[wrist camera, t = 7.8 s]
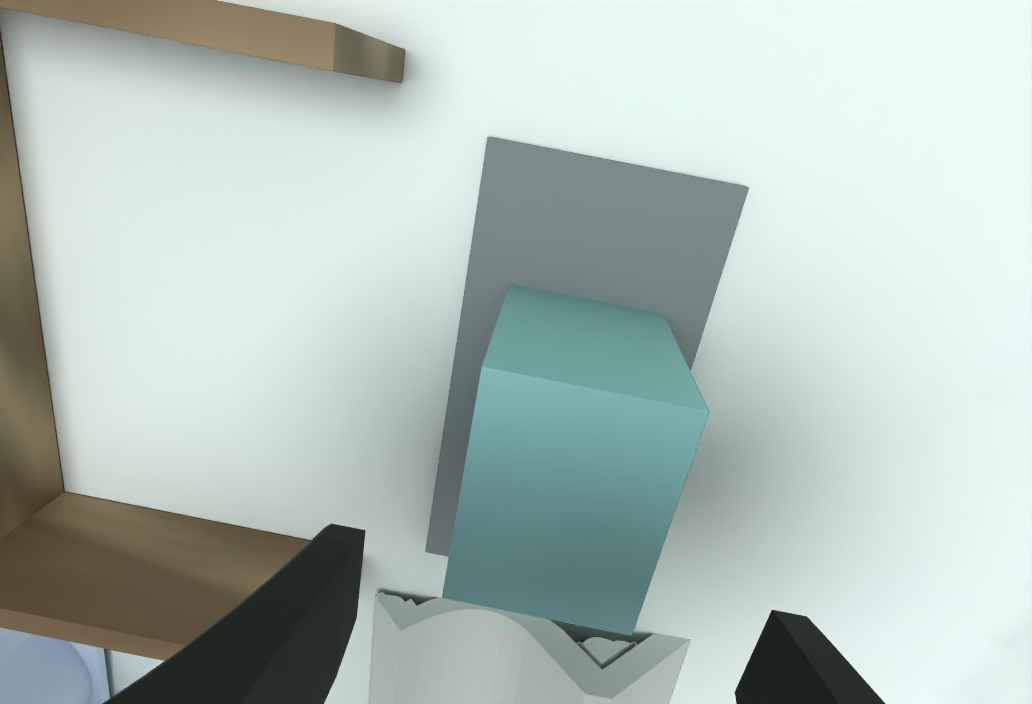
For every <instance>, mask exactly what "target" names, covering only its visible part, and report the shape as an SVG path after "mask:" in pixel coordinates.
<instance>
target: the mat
mask: <svg viewBox="0 0 1032 704" xmlns="http://www.w3.org/2000/svg"><path fill="white" fill-rule="evenodd" d="M748 190H749V188H748V187H746V186H742V185H737V184H732V183H726V182H721V181H716V180H711V179H706V178H700V177H695V176H690V175H685V174H680V173H675V172H669V171H664V170H659V169H654V168H649V167H644V166H638V165H633V164H628V163H623V162H618V161H613V160H607V159H602V158H597V157H592V156H587V155H581V154H576V153H571V152H566V151H561V150H556V149H550V148H545V147H540V146H535V145H530V144H525V143H519V142H514V141H509V140H504V139H499V138H493V137H487V144H486V150H485V157H484V164H483V170H482V177H481V184H480V190H479V197H478V204H477V210H476V217H475V224H474V230H473V237H472V244H471V250H470V257H469V264H468V270H467V277H466V284H465V290H464V297H463V304H462V311H461V317H460V324H459V331H458V337H457V344H456V351H455V357H454V364H453V371H452V377H451V384H450V391H449V397H448V404H447V411H446V417H445V424H444V431H443V437H442V444H441V451H440V457H439V464H438V471H437V477H436V484H435V491H434V497H433V504H432V511H431V517H430V524H429V531H428V537H427V544H426V551H425V552H429V553H434V554H439V555H444V556H449V554H450V548H451V542H452V536H453V531H454V525H455V519H456V513H457V507H458V502H459V496H460V490H461V484H462V478H463V473H464V467H465V461H466V455H467V449H468V444H469V438H470V432H471V426H472V420H473V415H474V409H475V403H476V397H477V391H478V386H479V380H480V374H481V368H482V364H483V362H484V359H485V356H486V353H487V350H488V347H489V344H490V341H491V338H492V335H493V332H494V329H495V326H496V323H497V320H498V317H499V314H500V311H501V308H502V305H503V302H504V299H505V296H506V293H507V290H508V287H509V284H512V285H517V286H522V287H527V288H532V289H537V290H542V291H547V292H552V293H557V294H563V295H568V296H573V297H578V298H583V299H588V300H593V301H598V302H603V303H608V304H613V305H618V306H623V307H629V308H634V309H639V310H644V311H649V312H654V313H659V314H663V315H664V317H665V319H666V321H667V323H668V325H669V327H670V330H671V332H672V334H673V336H674V338H675V340H676V342H677V344H678V347H679V349H680V351H681V353H682V355H683V357H684V359H685V361H686V363H687V366H688V368H689V370H690V371H691V368H692V365H693V362H694V358H695V355H696V352H697V349H698V346H699V343H700V340H701V337H702V333H703V330H704V327H705V324H706V321H707V318H708V315H709V312H710V308H711V305H712V302H713V299H714V296H715V293H716V290H717V287H718V283H719V280H720V277H721V274H722V271H723V268H724V265H725V262H726V258H727V255H728V252H729V249H730V246H731V243H732V240H733V237H734V233H735V230H736V227H737V224H738V221H739V218H740V215H741V212H742V208H743V205H744V202H745V199H746V196H747V193H748Z"/></svg>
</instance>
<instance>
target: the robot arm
mask: <svg viewBox="0 0 1032 704" xmlns="http://www.w3.org/2000/svg"><path fill="white" fill-rule="evenodd" d="M364 539H365V530H361V529H356V528H351V527H346V526H340V525H335V524H330V525H328V526H327V527H325V528H324V529H323V530H322V531H321V532H320V533H318V534H317V535H316V536H315V537H314V538H313V539H312V540H311V541H310V542H309V543H308V544H307V545H306V546H305V547H304V548H303V549H302V550H301V551H299V552H298V553H297V554H296V555H295V556H294V557H293V558H292V559H291V560H290V561H289V562H287V563H286V564H285V565H284V566H283V567H282V568H281V569H280V570H278V571H277V572H276V573H275V574H274V575H273V576H272V577H271V578H269V579H268V580H267V581H266V582H265V583H263V584H262V585H261V586H260V587H259V588H258V589H256V590H255V591H254V592H253V593H252V594H250V595H249V596H248V597H247V598H246V599H245V600H243V601H242V602H241V603H240V604H239V605H237V606H236V607H235V608H234V609H233V610H231V611H230V612H229V613H228V614H226V615H225V616H224V617H223V618H221V619H220V620H219V621H217V622H216V623H215V624H213V625H212V626H211V627H210V628H208V629H207V630H206V631H204V632H203V633H202V634H200V635H199V636H198V637H197V638H195V639H194V640H193V641H191V642H190V643H189V644H187V645H186V646H185V647H184V648H182V649H181V650H179V651H178V652H177V653H175V654H174V655H173V656H171V657H170V658H168V659H167V660H166V661H164V662H163V663H161V664H160V665H159V666H157V667H156V668H154V669H153V670H152V671H150V672H149V673H147V674H146V675H144V676H143V677H141V678H140V679H138V680H137V681H135V682H134V683H132V684H131V685H129V686H128V687H126V688H125V689H123V690H122V691H120V692H119V693H118V694H116V695H115V696H113V697H111V698H110V695H109V687H108V679H107V671H106V663H105V655H104V648H99V647H94V646H89V645H84V644H79V643H74V642H69V641H64V640H59V639H54V638H49V637H44V636H39V635H34V634H29V633H24V632H19V631H14V630H9V629H4V628H0V704H324V702H325V700H326V698H327V695H328V693H329V691H330V689H331V687H332V685H333V682H334V680H335V678H336V676H337V673H338V670H339V667H340V664H341V662H342V659H343V656H344V653H345V650H346V647H347V645H348V642H349V639H350V636H351V633H352V630H353V627H354V624H355V621H356V618H357V609H358V599H359V589H360V579H361V569H362V559H363V549H364ZM735 696H736V703H737V704H885V703H884V702H883V701H882V699H881V698H880V697H879V696H878V695H877V694H876V693H875V692H874V690H873V689H872V688H871V687H870V686H869V685H868V684H867V683H866V681H865V680H864V679H863V678H862V677H861V676H860V675H859V674H858V672H857V671H856V670H855V669H854V668H853V667H852V666H851V664H850V663H849V662H848V661H847V660H846V659H845V658H844V657H843V655H842V654H841V653H840V652H839V651H838V650H837V649H836V648H835V646H834V645H833V644H832V643H831V642H830V641H829V640H828V639H827V638H826V636H825V635H824V634H823V633H822V632H821V631H820V630H819V629H818V628H817V627H816V626H815V625H814V624H813V623H812V622H811V620H810V619H809V618H808V617H806V616H801V615H796V614H791V613H786V612H781V611H776V610H772V611H771V613H770V615H769V618H768V620H767V622H766V624H765V627H764V629H763V631H762V633H761V635H760V638H759V640H758V642H757V644H756V646H755V649H754V651H753V653H752V655H751V657H750V660H749V662H748V664H747V666H746V668H745V671H744V673H743V675H742V677H741V679H740V682H739V684H738V686H737V688H736V691H735Z"/></svg>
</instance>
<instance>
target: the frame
mask: <svg viewBox="0 0 1032 704" xmlns="http://www.w3.org/2000/svg"><path fill="white" fill-rule="evenodd" d="M0 7H2V8H7V9H13V10H18V11H23V12H28V13H33V14H39V15H44V16H49V17H54V18H59V19H65V20H70V21H75V22H80V23H85V24H90V25H96V26H101V27H106V28H111V29H116V30H122V31H127V32H132V33H137V34H142V35H147V36H153V37H158V38H163V39H168V40H173V41H179V42H184V43H189V44H194V45H199V46H205V47H210V48H215V49H220V50H225V51H230V52H236V53H241V54H246V55H251V56H256V57H262V58H267V59H272V60H277V61H282V62H288V63H293V64H298V65H303V66H308V67H313V68H319V69H324V70H329V71H334V72H340V73H346V74H352V75H358V76H363V77H369V78H375V79H381V80H387V81H392V82H398V83H402V76H403V65H404V55H405V50H404V49H402V48H399V47H396V46H394V45H391V44H389V43H386V42H383V41H381V40H378V39H375V38H373V37H370V36H368V35H365V34H362V33H360V32H357V31H354V30H352V29H349V28H347V27H344V26H341V25H339V24H336V23H331V22H326V21H321V20H316V19H311V18H305V17H300V16H295V15H290V14H285V13H279V12H274V11H269V10H264V9H259V8H253V7H248V6H243V5H238V4H233V3H227V2H222V1H217V0H0ZM309 542H310V541H309V540H304V539H299V538H294V537H289V536H284V535H278V534H273V533H268V532H263V531H258V530H253V529H248V528H243V527H238V526H233V525H228V524H223V523H218V522H213V521H208V520H203V519H198V518H193V517H188V516H183V515H178V514H173V513H168V512H163V511H158V510H153V509H148V508H143V507H138V506H133V505H127V504H122V503H117V502H112V501H107V500H102V499H97V498H92V497H87V496H82V495H77V494H72V493H67V492H64V489H63V482H62V475H61V468H60V461H59V453H58V446H57V439H56V432H55V425H54V418H53V411H52V403H51V396H50V389H49V382H48V375H47V368H46V361H45V353H44V346H43V339H42V332H41V325H40V318H39V311H38V303H37V296H36V289H35V282H34V275H33V268H32V261H31V254H30V246H29V239H28V232H27V225H26V218H25V211H24V204H23V196H22V189H21V182H20V175H19V168H18V161H17V154H16V146H15V139H14V132H13V125H12V118H11V111H10V104H9V96H8V89H7V82H6V75H5V68H4V61H3V54H2V46H1V39H0V628H4V629H9V630H14V631H19V632H24V633H29V634H34V635H39V636H44V637H49V638H54V639H59V640H64V641H69V642H74V643H79V644H84V645H89V646H94V647H99V648H104V649H109V650H114V651H119V652H124V653H129V654H134V655H139V656H144V657H149V658H154V659H159V660H164V661H166V660H167V659H168V658H170V657H171V656H173V655H174V654H175V653H177V652H178V651H179V650H181V649H182V648H184V647H185V646H186V645H187V644H189V643H190V642H191V641H193V640H194V639H195V638H197V637H198V636H199V635H200V634H202V633H203V632H204V631H206V630H207V629H208V628H210V627H211V626H212V625H213V624H215V623H216V622H217V621H219V620H220V619H221V618H223V617H224V616H225V615H226V614H228V613H229V612H230V611H231V610H233V609H234V608H235V607H236V606H237V605H239V604H240V603H241V602H242V601H243V600H245V599H246V598H247V597H248V596H249V595H250V594H252V593H253V592H254V591H255V590H256V589H258V588H259V587H260V586H261V585H262V584H263V583H265V582H266V581H267V580H268V579H269V578H271V577H272V576H273V575H274V574H275V573H276V572H277V571H278V570H280V569H281V568H282V567H283V566H284V565H285V564H286V563H287V562H289V561H290V560H291V559H292V558H293V557H294V556H295V555H296V554H297V553H298V552H299V551H301V550H302V549H303V548H304V547H305V546H306V545H307V544H308V543H309Z"/></svg>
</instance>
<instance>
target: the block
mask: <svg viewBox="0 0 1032 704" xmlns="http://www.w3.org/2000/svg"><path fill="white" fill-rule="evenodd" d="M708 414H709V410H708V408H707V406H706V404H705V402H704V399H703V397H702V395H701V393H700V391H699V389H698V387H697V385H696V382H695V380H694V378H693V376H692V374H691V372H690V370H689V368H688V366H687V363H686V361H685V359H684V357H683V355H682V353H681V351H680V349H679V347H678V344H677V342H676V340H675V338H674V336H673V334H672V332H671V330H670V327H669V325H668V323H667V321H666V319H665V317H664V315H663V314H659V313H654V312H649V311H644V310H639V309H634V308H629V307H623V306H618V305H613V304H608V303H603V302H598V301H593V300H588V299H583V298H578V297H573V296H568V295H563V294H557V293H552V292H547V291H542V290H537V289H532V288H527V287H522V286H517V285H512V284H509V287H508V290H507V293H506V296H505V299H504V302H503V305H502V308H501V311H500V314H499V317H498V320H497V323H496V326H495V329H494V332H493V335H492V338H491V341H490V344H489V347H488V350H487V353H486V356H485V359H484V362H483V364H482V368H481V374H480V380H479V386H478V391H477V397H476V403H475V409H474V415H473V420H472V426H471V432H470V438H469V444H468V449H467V455H466V461H465V467H464V473H463V478H462V484H461V490H460V496H459V502H458V507H457V513H456V519H455V525H454V531H453V536H452V542H451V548H450V554H449V560H448V565H447V571H446V577H445V583H444V589H443V594H442V598H444V599H449V600H454V601H459V602H464V603H469V604H474V605H479V606H484V607H489V608H494V609H499V610H504V611H509V612H514V613H519V614H524V615H529V616H534V617H539V618H544V619H549V620H554V621H559V622H564V623H569V624H574V625H579V626H584V627H589V628H594V629H599V630H604V631H609V632H614V633H619V634H624V635H629V636H632V634H633V631H634V628H635V625H636V622H637V619H638V616H639V613H640V611H641V608H642V605H643V602H644V599H645V596H646V593H647V590H648V587H649V585H650V582H651V579H652V576H653V573H654V570H655V567H656V564H657V561H658V559H659V556H660V553H661V550H662V547H663V544H664V541H665V538H666V535H667V533H668V530H669V527H670V524H671V521H672V518H673V515H674V512H675V509H676V506H677V504H678V501H679V498H680V495H681V492H682V489H683V486H684V483H685V480H686V478H687V475H688V472H689V469H690V466H691V463H692V460H693V457H694V454H695V452H696V449H697V446H698V443H699V440H700V437H701V434H702V431H703V428H704V426H705V423H706V420H707V417H708Z"/></svg>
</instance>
